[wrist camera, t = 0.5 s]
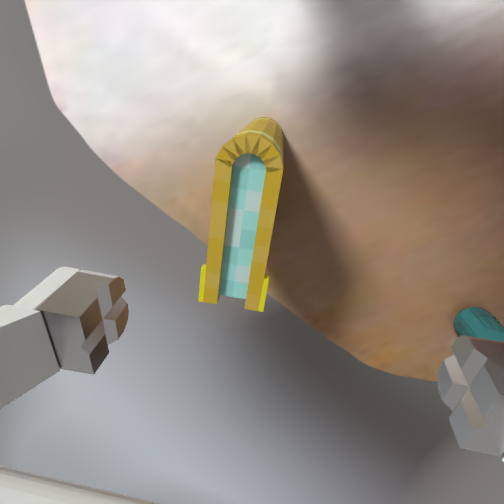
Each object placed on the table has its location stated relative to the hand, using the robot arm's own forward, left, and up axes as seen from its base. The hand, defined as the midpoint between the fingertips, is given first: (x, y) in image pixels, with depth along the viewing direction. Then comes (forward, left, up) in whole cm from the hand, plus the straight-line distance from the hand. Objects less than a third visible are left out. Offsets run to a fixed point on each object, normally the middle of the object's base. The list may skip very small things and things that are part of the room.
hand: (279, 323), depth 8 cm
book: (+6, -3, -47) cm, 47 cm away
